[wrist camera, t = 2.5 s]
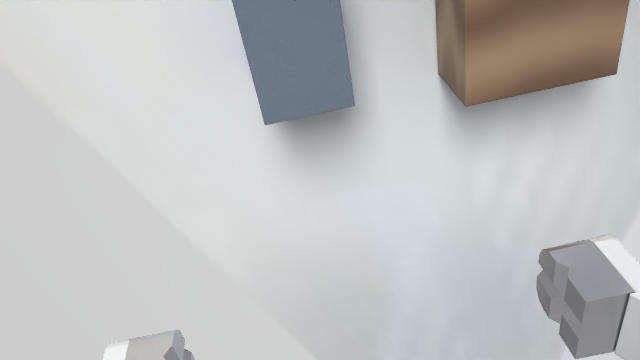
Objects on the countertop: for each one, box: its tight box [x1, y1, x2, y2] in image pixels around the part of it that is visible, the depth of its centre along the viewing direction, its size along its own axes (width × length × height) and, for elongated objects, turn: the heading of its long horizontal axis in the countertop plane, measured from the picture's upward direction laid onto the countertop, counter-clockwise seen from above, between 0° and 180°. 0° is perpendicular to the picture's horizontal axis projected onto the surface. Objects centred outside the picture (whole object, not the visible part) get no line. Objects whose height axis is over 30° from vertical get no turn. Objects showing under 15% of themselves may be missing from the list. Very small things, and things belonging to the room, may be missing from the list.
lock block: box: [232, 0, 355, 125], centre depth 28 cm, size 8×5×6 cm, turn 10°
